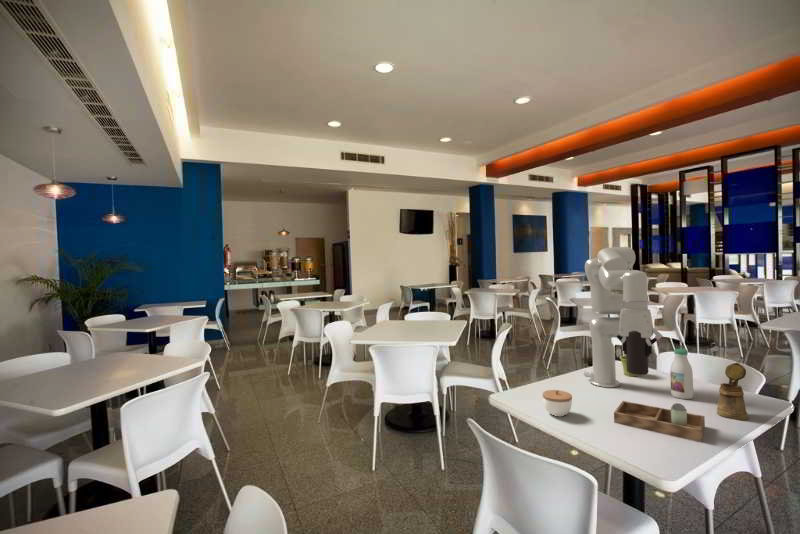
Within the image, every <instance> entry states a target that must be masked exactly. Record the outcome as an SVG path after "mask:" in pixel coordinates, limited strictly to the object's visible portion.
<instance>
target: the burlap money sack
mask: <svg viewBox="0 0 800 534" xmlns="http://www.w3.org/2000/svg"><path fill="white" fill-rule="evenodd" d="M746 375H747V370H746V368H745V367H744V366H743V365H741V364H740V363H738V362H735V363H730V364H729V365H727V366H726V368H725V376H726V377H727V378H728V379H729V380H728V383H726V382H725V383H723V382H722V383H721V384H720V387H719V388H718V389H719V390H718V392H719V395H718V396H719V397H718V403H717V407H716V413H717V415H719V416H721V417H722V418H726V419H730V420H734V421H735V420H736V421H746V420H748V419H749V414H748V412H747V409H746V404H745V399H744V397H745V396H744V395H745V394H744V390H743V388H742V386H740V385H738V384H739V381H740V380H742V379H744V378H745V377H746Z"/></svg>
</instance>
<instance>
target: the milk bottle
mask: <svg viewBox="0 0 800 534" xmlns="http://www.w3.org/2000/svg"><path fill="white" fill-rule="evenodd" d="M673 352H674V353H673V355H674V358H673V361H672V362H671V364H670V369H669V370H670V371H669V372H670V373H669V374H670V375H669V376H670V395H671V396H672V397H674V398H676V399H681V400H692V399H693V398H694V376H693V375H694V373H693V367H692V365H691V363H690V362H689V359H688V350H687V349H684V348H674V350H673Z"/></svg>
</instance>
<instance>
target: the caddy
mask: <svg viewBox="0 0 800 534" xmlns="http://www.w3.org/2000/svg"><path fill="white" fill-rule="evenodd" d="M705 418H706V417H705V416H704V415H699V414H694V413H690V412H687V427H686V426H681V425H676V424H672V423H671V409H669V408H664V407H659V406H653V405H649V404H641V403H636V402H631V401H625V400H623V401H622V402H620V404H619V405H618V407H617V408H616V409H615V410H614V411H613V422H614V423H615V424H618V425H619V424H620V425H623V426H628V427H633V428H636V429H641V430H645V431H650V432H655V433H659V434H662V435H663V434H664V435H666V436H667V435H668V436H671V437H677V438H682V439H685V440H689V441H690V440H691V441H695V442H700V443H702V442H703V437H704V431H705V428H706V427H705V426H706V425H705V424H706V422H705V421H706V420H705Z"/></svg>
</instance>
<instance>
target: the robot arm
mask: <svg viewBox="0 0 800 534" xmlns="http://www.w3.org/2000/svg"><path fill="white" fill-rule="evenodd" d="M635 253H636V252H635V250H634V249H632V248H631V247H628V246H612V247H611V246H610V247H604V248H602V249H601V250H598V253H597V254H596V257H594V258H590V259H587V260H586V261H585V264H584V271H585V275H586V278H587V281H588V283H589V287H590V303H591V310H592V311H593V313H594V314H597V315H617V316H614V317H613V316H600V317H599V316H598V317H594V318H592V319H590V321H589V323H588V324H589V331H590V337H591V345H592V347H591V348H592V349H591V350H592V371H591V372H590V371H589V372H588V371H584V372H583V376H584V377H585V378H589V383H590V384H591V383H592V384H591V385H593V384H594V386H596V385H597V387H600V386H601V388H617V387H619V386H620V385H621V383H620V381H619V380H617V377H616V376H617V375H616V349H615V346H614V343H612V342H611V340H610V339H611V338H617V339H618V340H619V341H620V343H621V344H622V345H621V349H622V352H623V354H624V355H626V337H628V336H629V332H630V331H637V332H639V333H641V337H642V338H646V342H647V346H646V356H647V357H648V358H649V357H650V356H651V355H652V354H653V349H652V348H653V347H652V345H654V344H655V343H656V342H657V341H658V340H660V339H661V338H662V337H663V334H662V333H661V332H659V331H658V330H657V329H656V328H655V327H654V325H653V324H654V323H653V317H652V312H651V309H649V304H648V277H647V273H646V272H644V271H641V270H638V269H636V270H635V269H632V267H634V264H635V262H636V254H635ZM611 291H622V293H623V294H622V293H613V294H612V293H611ZM653 335H655V337H654V338H651V337H652V336H653Z"/></svg>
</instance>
